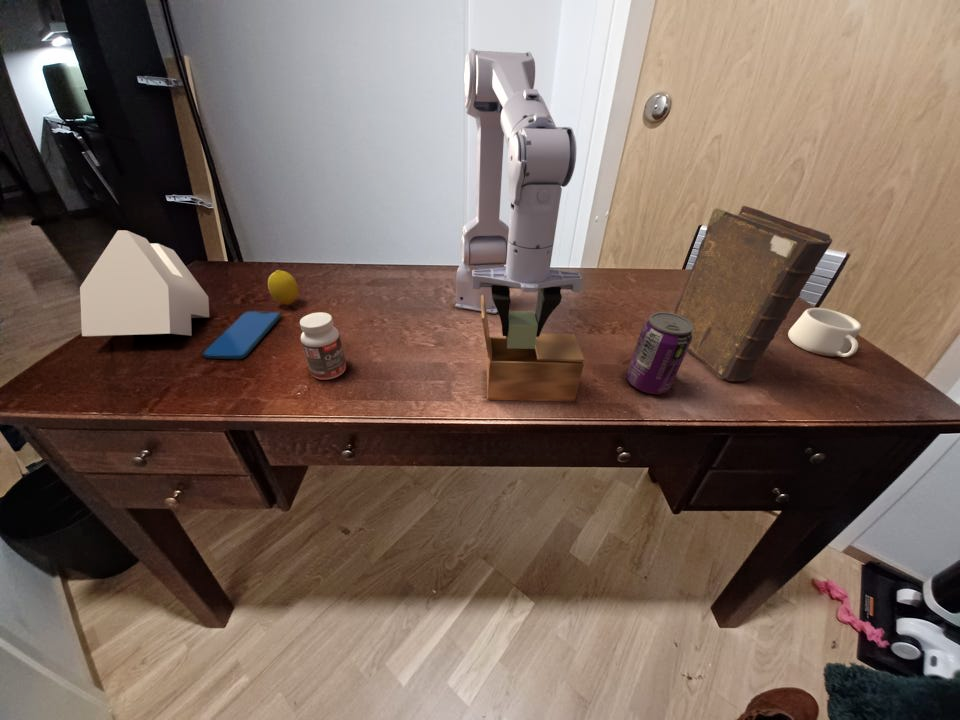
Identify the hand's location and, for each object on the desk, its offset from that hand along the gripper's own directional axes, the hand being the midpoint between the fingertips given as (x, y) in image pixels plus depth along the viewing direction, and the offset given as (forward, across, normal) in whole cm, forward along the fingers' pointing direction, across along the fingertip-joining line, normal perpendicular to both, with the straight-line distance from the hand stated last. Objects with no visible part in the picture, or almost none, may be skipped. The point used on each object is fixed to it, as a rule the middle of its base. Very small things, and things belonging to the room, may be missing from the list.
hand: (520, 332), depth 54 cm
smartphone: (+10, -50, +13) cm, 53 cm away
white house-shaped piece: (+11, -68, +18) cm, 71 cm away
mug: (+11, +62, +14) cm, 64 cm away
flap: (-1, -5, 0) cm, 5 cm away
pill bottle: (+11, -31, +3) cm, 33 cm away
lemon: (+11, -47, +26) cm, 55 cm away
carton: (+10, +2, 0) cm, 11 cm away
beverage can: (+11, +23, +1) cm, 25 cm away
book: (+11, +37, +10) cm, 39 cm away
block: (+1, 0, 0) cm, 1 cm away
